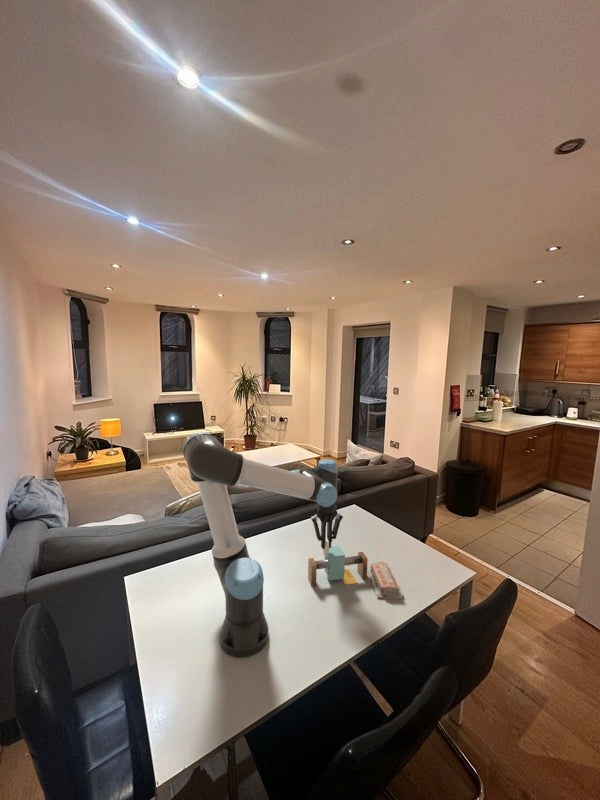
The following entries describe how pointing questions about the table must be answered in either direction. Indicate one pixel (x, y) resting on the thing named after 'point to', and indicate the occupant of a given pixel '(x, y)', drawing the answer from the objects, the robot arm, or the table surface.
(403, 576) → the table surface
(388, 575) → the packaged product
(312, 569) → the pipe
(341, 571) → the collar
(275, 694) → the table surface
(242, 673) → the table surface
